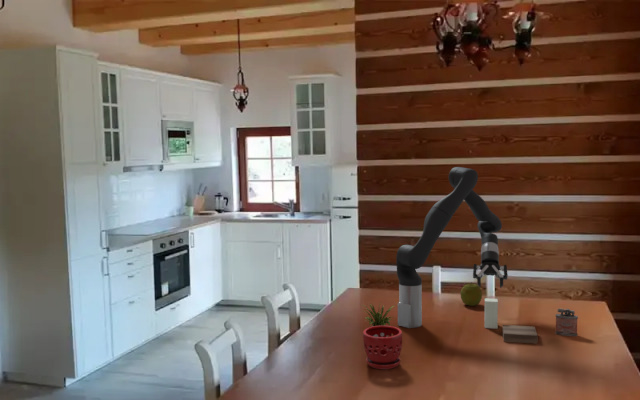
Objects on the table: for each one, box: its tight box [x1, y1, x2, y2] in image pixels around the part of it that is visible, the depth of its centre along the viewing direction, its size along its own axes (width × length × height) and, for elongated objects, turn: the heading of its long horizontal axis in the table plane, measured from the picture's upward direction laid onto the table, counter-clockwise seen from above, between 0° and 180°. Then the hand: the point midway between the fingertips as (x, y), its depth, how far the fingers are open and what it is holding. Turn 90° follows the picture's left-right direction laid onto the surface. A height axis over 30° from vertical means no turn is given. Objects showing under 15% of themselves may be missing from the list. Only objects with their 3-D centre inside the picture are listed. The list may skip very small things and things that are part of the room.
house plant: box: [360, 301, 396, 337], centre depth 228 cm, size 14×14×16 cm
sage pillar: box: [484, 297, 499, 330], centre depth 249 cm, size 5×5×11 cm
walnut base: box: [501, 324, 538, 344], centre depth 234 cm, size 12×12×3 cm
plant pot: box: [362, 325, 403, 370], centre depth 206 cm, size 13×13×12 cm
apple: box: [460, 281, 483, 307], centre depth 284 cm, size 10×10×11 cm
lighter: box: [554, 308, 579, 337], centre depth 237 cm, size 8×3×10 cm, turn 65°
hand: (490, 286), depth 259 cm, fingers open, 8 cm apart
